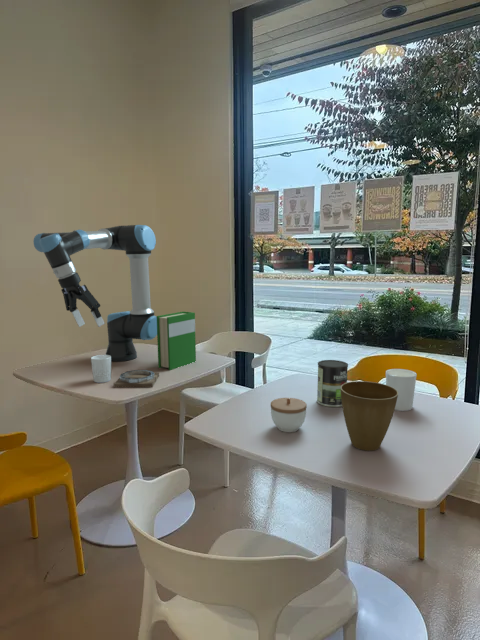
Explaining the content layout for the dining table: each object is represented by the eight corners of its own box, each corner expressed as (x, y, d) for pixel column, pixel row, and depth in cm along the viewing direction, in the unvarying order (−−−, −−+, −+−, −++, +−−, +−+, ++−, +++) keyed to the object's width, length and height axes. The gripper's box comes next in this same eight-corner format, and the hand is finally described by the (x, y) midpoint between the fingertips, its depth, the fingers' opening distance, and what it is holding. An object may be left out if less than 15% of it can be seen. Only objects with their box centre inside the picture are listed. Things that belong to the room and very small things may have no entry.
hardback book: (170, 370, 193) (168, 317, 189) (158, 367, 197) (156, 316, 193) (195, 361, 207) (194, 312, 203) (184, 359, 211) (183, 311, 207)
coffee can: (352, 403, 150) (354, 364, 148) (331, 409, 144) (332, 368, 142) (331, 395, 158) (332, 358, 156) (310, 400, 153) (311, 362, 151)
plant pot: (339, 455, 112) (341, 396, 109) (337, 432, 126) (339, 379, 124) (399, 460, 109) (403, 400, 107) (390, 435, 124) (393, 382, 121)
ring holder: (123, 376, 184) (123, 369, 183) (159, 376, 184) (158, 369, 183) (114, 387, 169) (113, 380, 168) (152, 387, 169) (152, 379, 168)
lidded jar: (313, 428, 129) (314, 398, 128) (290, 439, 122) (291, 407, 120) (285, 418, 137) (286, 390, 135) (263, 428, 130) (263, 398, 128)
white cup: (115, 378, 182) (114, 354, 180) (107, 383, 174) (106, 359, 172) (97, 377, 182) (95, 354, 181) (89, 383, 175) (87, 359, 173)
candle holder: (417, 405, 148) (419, 371, 146) (410, 414, 140) (412, 378, 138) (388, 399, 153) (390, 367, 151) (380, 408, 145) (382, 373, 143)
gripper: (42, 281, 166) (66, 329, 173) (76, 276, 150) (102, 329, 158) (58, 273, 171) (81, 321, 178) (93, 268, 155) (117, 320, 163)
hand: (91, 325), depth 168 cm, fingers open, 13 cm apart
